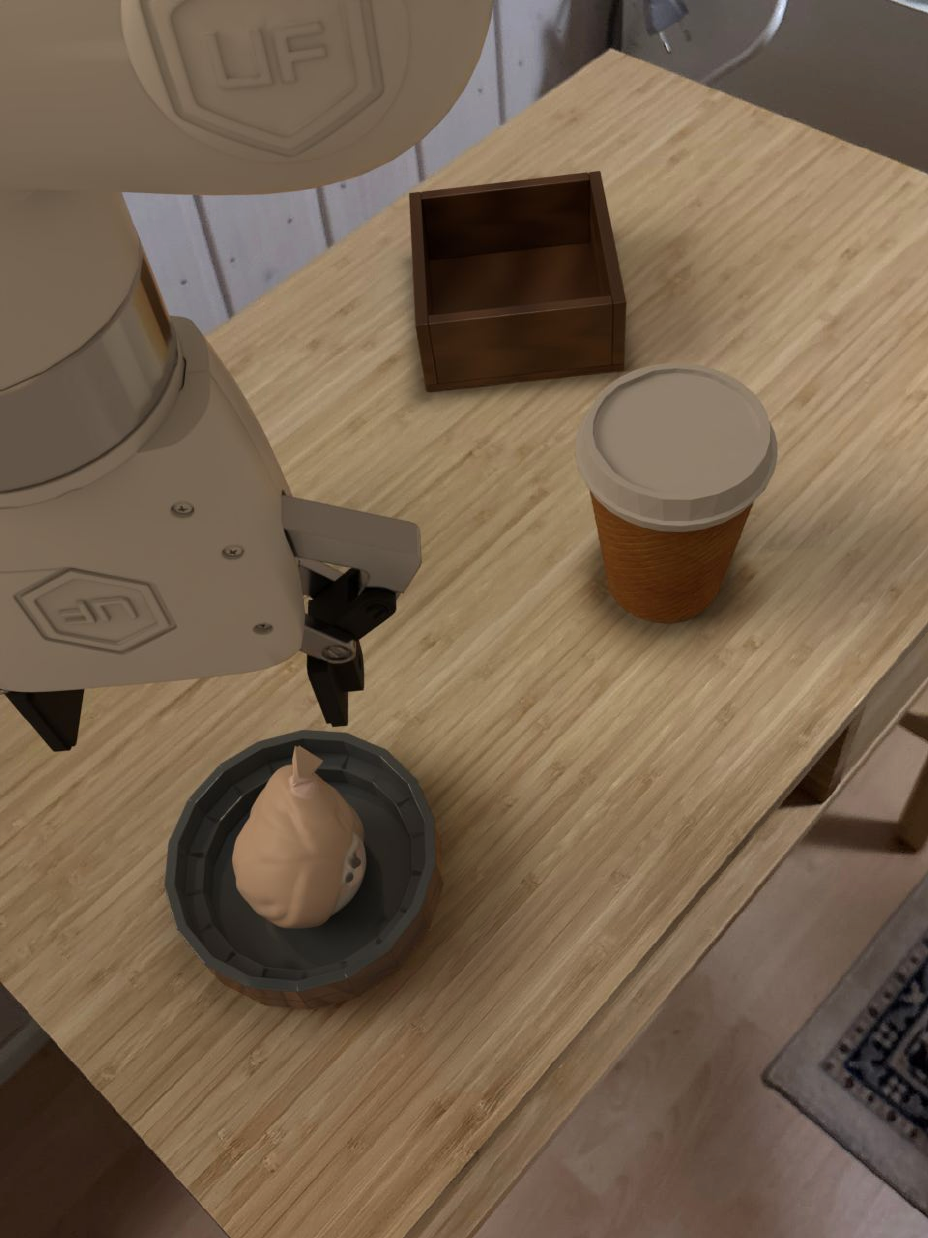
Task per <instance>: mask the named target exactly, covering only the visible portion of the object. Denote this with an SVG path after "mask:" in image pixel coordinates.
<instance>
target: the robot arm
mask: <svg viewBox="0 0 928 1238" xmlns="http://www.w3.org/2000/svg"><path fill="white" fill-rule="evenodd" d="M494 3H495V0H0V695H5V697H6V698H7V700H9V702H10V703H11V704H12V706H13V707H14V708H15V709H16V710H17V711H18V712H19V713H20V715H21V716H22V717H23V718H24V719H25V720H26V722H28V723H29V725H30V726H31V727H32V729H34V731H35V732H36V734H38V736H40V738H41V739H42V740H43V742H44V743H46V745H47V747H49V749H51V751H52V752H53V753H57V752H58V753H59V752H67V751H68V752H69V751H71V750H72V748H73V747H76V746H77V743H78V737H79V730H80V724H81V716H82V709H83V704H84V703H83V702H84V695H85V690H87V689H100V688H101V689H102V688H111V687H112V688H113V687H124V686H125V687H126V686H134V685H145V684H157V683H166V682H167V683H169V682H178V681H186V680H189V681H190V680H197V679H207V678H217V677H225V676H226V677H227V676H234V675H241V674H248V673H250V674H251V673H254V672H260V671H264V670H267V669H270V668H272V667H276V666H278V665H280V664H282V663H284V662H286V661H288V660H290V659H292V658H293V657H294V656H295V655H296V654H298V653H299V652H300V653H303V654H306V674H307V677H308V680H309V682H310V685H311V687H312V691H313V693H314V695H315V699H316V701H317V704H318V706H319V708H320V712H321V713H322V716H323V719H324V721H325V724H326V725H328V724H329V725H331V727H332V728H338V727H339V728H340V727H341V728H342V727H347V726H349V693H352V692H363V691H364V690H365V662H364V654H363V649H362V646H361V642H360V640H362V638H364V637H366V636H367V635H368V634H369V633H371V632H372V631H373V630H375V629H376V628H378V627H379V626H380V625H381V624H383V623H384V622H385V621H387V620H389V619H390V618H391V617H392V616H393V615H395V614H396V612H397V609H398V608H397V601H398V599H399V597H400V596H401V594H404V593H405V592H406V590H407V589H408V588H409V586H410V584H411V583H412V581H413V579H414V578H415V576H416V575H417V573H418V572H419V570H420V569H421V566H422V563H423V558H422V537H421V536H422V534H421V533H422V532H421V529H420V527H419V525H417V524H416V523H414V522H411V521H409V520H405V519H404V520H403V519H399V518H394V517H390V516H385V515H380V514H375V513H371V512H366V511H361V510H356V509H352V508H347V507H343V506H339V505H333V504H329V503H322V502H320V501H314V500H309V499H304V498H300V497H295V496H293V493H292V490H291V489H290V486H289V483H288V480H287V479H286V477H285V475H284V474H285V473H284V472H283V469H282V467H281V465H280V462H279V461H278V459H277V457H276V455H275V453H274V450H273V448H272V446H271V443H270V441H269V439H268V436H267V435H266V433H265V431H264V429H263V428H262V426H261V423H260V422H259V420H258V418H257V416H256V414H255V412H254V410H253V409H252V406H251V404H250V403H249V402H248V399H247V398H246V397H245V394H244V393H243V391H242V389H241V388H240V386H239V384H238V383H237V381H236V379H235V378H234V377H233V375H232V373H231V371H229V369H228V368H227V366H226V364H225V363H224V361H223V360H222V359H221V357H220V355H219V354H218V353H217V351H216V350H215V348H214V347H213V346H212V344H211V343H210V342H209V340H208V339H207V338H206V336H205V335H204V333H202V331H201V330H200V328H199V327H198V326H197V324H196V323H194V321H193V320H192V319H190V318H188V317H185V316H179V315H170V312H169V310H168V308H167V305H166V303H165V300H164V297H163V295H162V293H161V289H160V287H159V284H158V282H157V279H156V277H155V274H154V271H153V269H152V265H151V263H150V261H149V259H148V255H147V253H146V251H145V248H144V246H143V243H142V240H141V238H140V235H139V233H138V231H137V228H136V226H135V224H134V221H133V218H132V215H131V212H130V210H129V207H128V205H127V202H126V199H125V197H124V194H123V193H130V194H131V193H135V194H154V195H155V194H157V195H177V196H180V195H181V196H215V197H216V196H257V195H258V196H259V195H260V196H261V195H263V196H264V195H273V194H282V193H283V194H284V193H292V192H302V191H307V190H312V189H317V188H322V187H325V186H330V185H334V184H337V183H342V182H345V181H348V180H351V179H354V178H357V177H361V176H363V175H365V174H368V173H370V172H372V171H374V170H376V169H378V168H380V167H382V166H384V165H386V164H388V163H391V162H392V161H395V160H396V159H397V158H399V157H400V156H402V155H403V154H404V153H406V152H408V150H411V148H413V147H414V146H416V145H417V144H419V143H420V142H422V141H423V140H424V139H425V138H426V137H427V136H428V135H429V134H430V133H431V132H432V131H433V130H434V129H435V128H436V127H437V126H438V125H439V124H440V123H441V122H442V120H444V118H446V116H447V115H448V114H449V113H450V112H451V110H452V108H453V107H454V106H455V104H456V103H457V102H458V100H459V99H460V97H461V96H462V94H463V93H464V91H465V89H466V87H467V85H468V84H469V82H470V80H471V78H472V76H473V74H474V72H475V70H476V67H477V65H478V63H479V62H480V59H481V57H482V53H483V50H484V48H485V43H486V40H487V36H488V33H489V30H490V26H491V22H492V19H493V18H492V17H493V11H494ZM329 564H330V565H335V566H340V567H343V568H344V567H345V568H349V569H348V570H346V571H345V572H343V571H340V570H338V569H336V568H334V567H332V566H330V565H329ZM304 596H306V597H308V598H310V599H308V601H307V612H306V608H305V597H304Z"/></svg>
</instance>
